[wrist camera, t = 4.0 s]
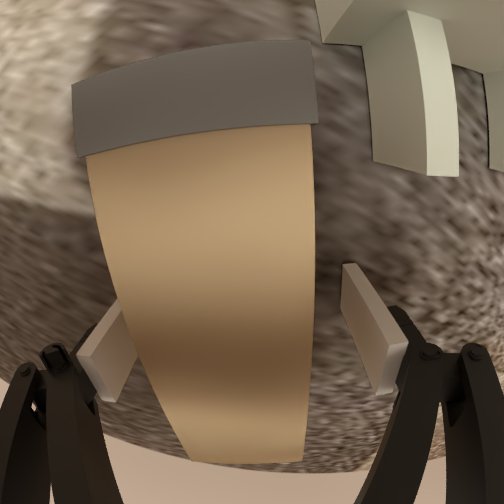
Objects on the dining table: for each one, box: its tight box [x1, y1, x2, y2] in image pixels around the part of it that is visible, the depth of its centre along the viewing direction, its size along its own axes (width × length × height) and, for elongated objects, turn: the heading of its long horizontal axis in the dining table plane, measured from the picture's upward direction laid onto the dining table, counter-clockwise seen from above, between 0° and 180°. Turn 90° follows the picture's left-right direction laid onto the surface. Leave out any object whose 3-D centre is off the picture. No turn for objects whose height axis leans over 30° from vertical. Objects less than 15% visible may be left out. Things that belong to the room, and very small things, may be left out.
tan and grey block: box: [72, 40, 319, 463], centre depth 11 cm, size 16×6×7 cm, turn 5°
